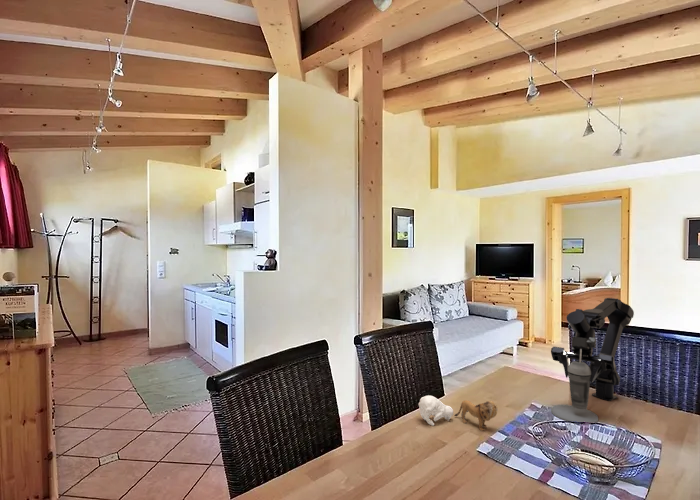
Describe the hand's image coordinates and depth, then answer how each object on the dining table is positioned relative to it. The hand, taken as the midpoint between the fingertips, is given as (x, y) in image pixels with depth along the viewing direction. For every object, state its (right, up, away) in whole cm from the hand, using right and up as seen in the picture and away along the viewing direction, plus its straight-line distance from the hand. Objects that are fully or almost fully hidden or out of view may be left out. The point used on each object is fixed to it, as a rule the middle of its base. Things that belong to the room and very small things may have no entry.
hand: (578, 379), depth 129 cm
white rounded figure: (-49, -13, -3) cm, 51 cm away
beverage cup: (+1, -10, +1) cm, 10 cm away
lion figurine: (-36, -13, -5) cm, 39 cm away
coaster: (0, -13, +2) cm, 13 cm away
